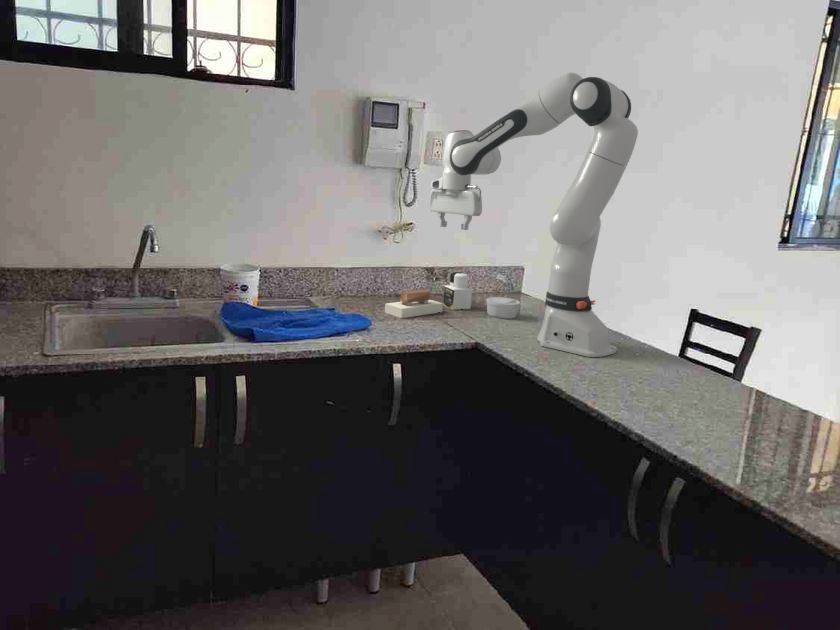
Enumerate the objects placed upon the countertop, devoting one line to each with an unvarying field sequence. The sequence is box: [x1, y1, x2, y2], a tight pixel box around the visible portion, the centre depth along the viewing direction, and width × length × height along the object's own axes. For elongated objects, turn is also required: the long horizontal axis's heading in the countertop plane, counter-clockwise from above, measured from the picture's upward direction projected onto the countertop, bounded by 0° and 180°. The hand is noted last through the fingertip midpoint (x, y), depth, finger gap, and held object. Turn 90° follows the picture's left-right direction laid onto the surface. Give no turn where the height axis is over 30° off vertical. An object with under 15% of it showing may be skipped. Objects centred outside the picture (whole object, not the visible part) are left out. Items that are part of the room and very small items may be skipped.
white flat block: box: [384, 299, 444, 319], centre depth 216 cm, size 8×18×3 cm, turn 133°
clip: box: [399, 288, 431, 306], centre depth 215 cm, size 3×10×7 cm, turn 133°
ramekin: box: [486, 296, 521, 320], centre depth 220 cm, size 11×11×5 cm
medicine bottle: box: [442, 271, 473, 311], centre depth 227 cm, size 7×7×12 cm
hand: (453, 228), depth 212 cm, fingers open, 8 cm apart
